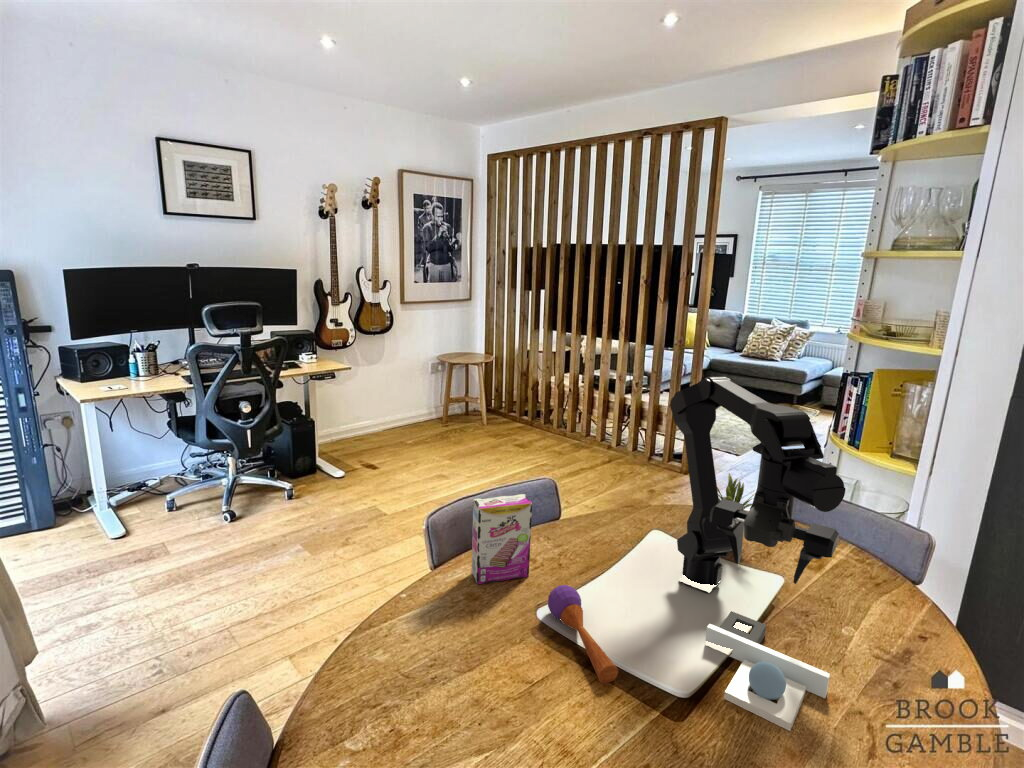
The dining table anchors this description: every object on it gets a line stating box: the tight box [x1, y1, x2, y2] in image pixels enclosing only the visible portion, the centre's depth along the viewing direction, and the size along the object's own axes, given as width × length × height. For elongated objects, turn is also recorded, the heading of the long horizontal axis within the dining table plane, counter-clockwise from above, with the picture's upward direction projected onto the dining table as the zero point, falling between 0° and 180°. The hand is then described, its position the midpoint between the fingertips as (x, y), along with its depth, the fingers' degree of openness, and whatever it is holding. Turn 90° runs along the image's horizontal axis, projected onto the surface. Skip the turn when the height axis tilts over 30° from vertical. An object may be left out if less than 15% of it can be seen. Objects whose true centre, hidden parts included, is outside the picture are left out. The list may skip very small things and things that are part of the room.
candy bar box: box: [471, 493, 533, 585], centre depth 111 cm, size 11×5×16 cm, turn 108°
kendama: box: [547, 584, 619, 684], centre depth 93 cm, size 6×6×20 cm
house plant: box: [717, 472, 756, 552], centre depth 127 cm, size 14×14×16 cm
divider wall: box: [705, 623, 831, 699], centre depth 88 cm, size 18×1×4 cm, turn 51°
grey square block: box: [719, 610, 767, 645], centre depth 96 cm, size 6×6×2 cm
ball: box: [749, 662, 786, 701], centre depth 82 cm, size 5×5×5 cm
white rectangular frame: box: [723, 660, 807, 732], centre depth 82 cm, size 9×9×1 cm
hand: (765, 572), depth 94 cm, fingers open, 9 cm apart
